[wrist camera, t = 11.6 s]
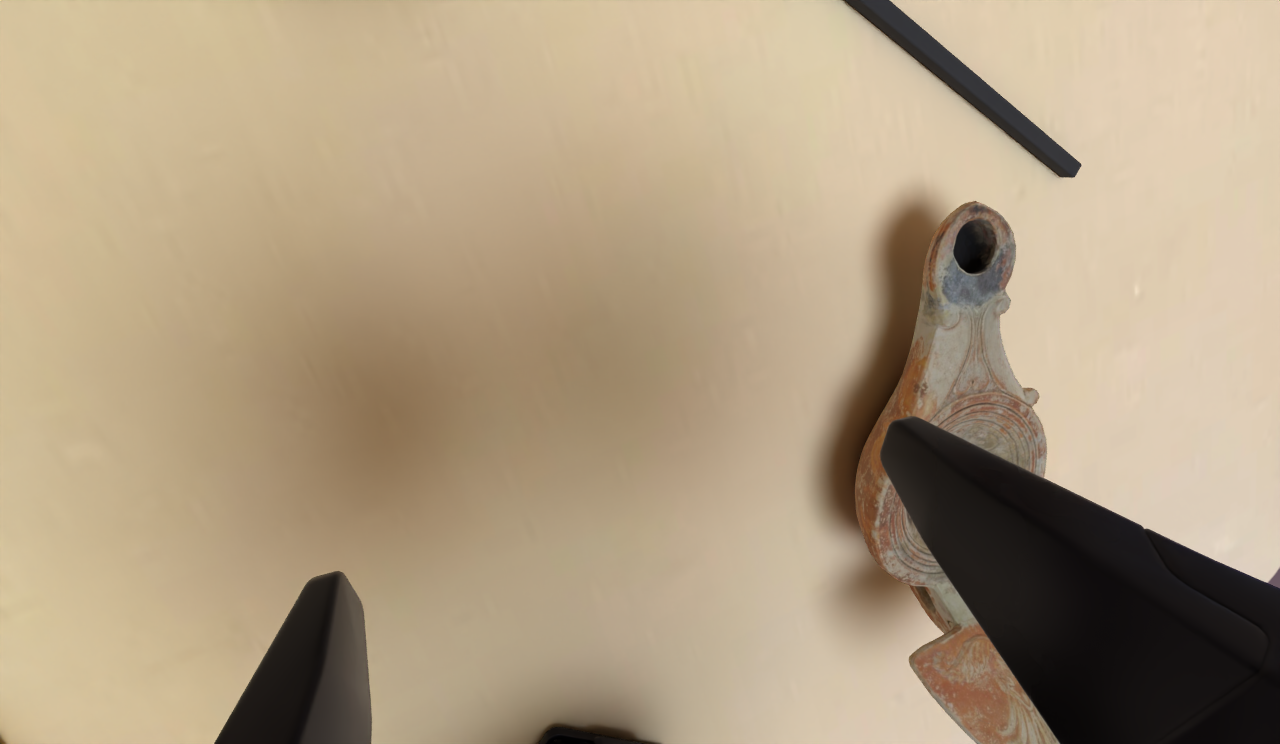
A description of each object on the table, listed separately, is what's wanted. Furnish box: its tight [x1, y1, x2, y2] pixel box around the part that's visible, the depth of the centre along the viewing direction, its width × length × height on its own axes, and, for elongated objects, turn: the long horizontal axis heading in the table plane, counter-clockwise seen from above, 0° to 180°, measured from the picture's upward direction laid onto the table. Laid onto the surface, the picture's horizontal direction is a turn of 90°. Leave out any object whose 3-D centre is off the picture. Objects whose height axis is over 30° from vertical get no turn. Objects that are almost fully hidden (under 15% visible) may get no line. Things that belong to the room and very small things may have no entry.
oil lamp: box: [855, 201, 1059, 744], centre depth 22 cm, size 9×21×10 cm, turn 5°
